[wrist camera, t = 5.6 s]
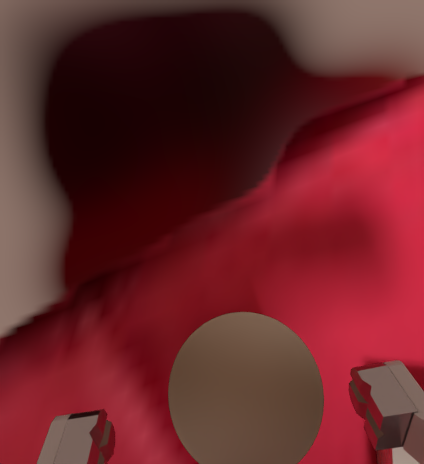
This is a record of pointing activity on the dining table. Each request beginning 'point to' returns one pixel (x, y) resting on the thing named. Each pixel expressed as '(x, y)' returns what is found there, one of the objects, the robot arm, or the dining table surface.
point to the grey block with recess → (394, 456)
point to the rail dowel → (245, 392)
